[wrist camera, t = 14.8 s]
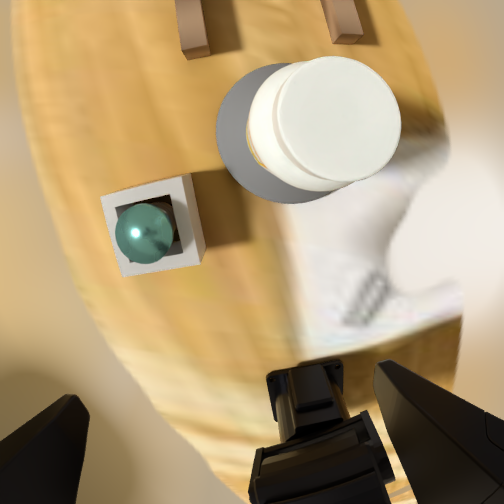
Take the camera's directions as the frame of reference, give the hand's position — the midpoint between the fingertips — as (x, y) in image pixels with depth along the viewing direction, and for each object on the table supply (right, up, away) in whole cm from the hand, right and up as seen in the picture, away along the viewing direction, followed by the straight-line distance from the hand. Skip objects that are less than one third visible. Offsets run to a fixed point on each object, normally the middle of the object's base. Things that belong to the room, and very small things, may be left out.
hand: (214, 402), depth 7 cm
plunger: (-5, +6, +11) cm, 13 cm away
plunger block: (-5, +6, +11) cm, 14 cm away
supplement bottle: (+3, +11, +10) cm, 15 cm away
